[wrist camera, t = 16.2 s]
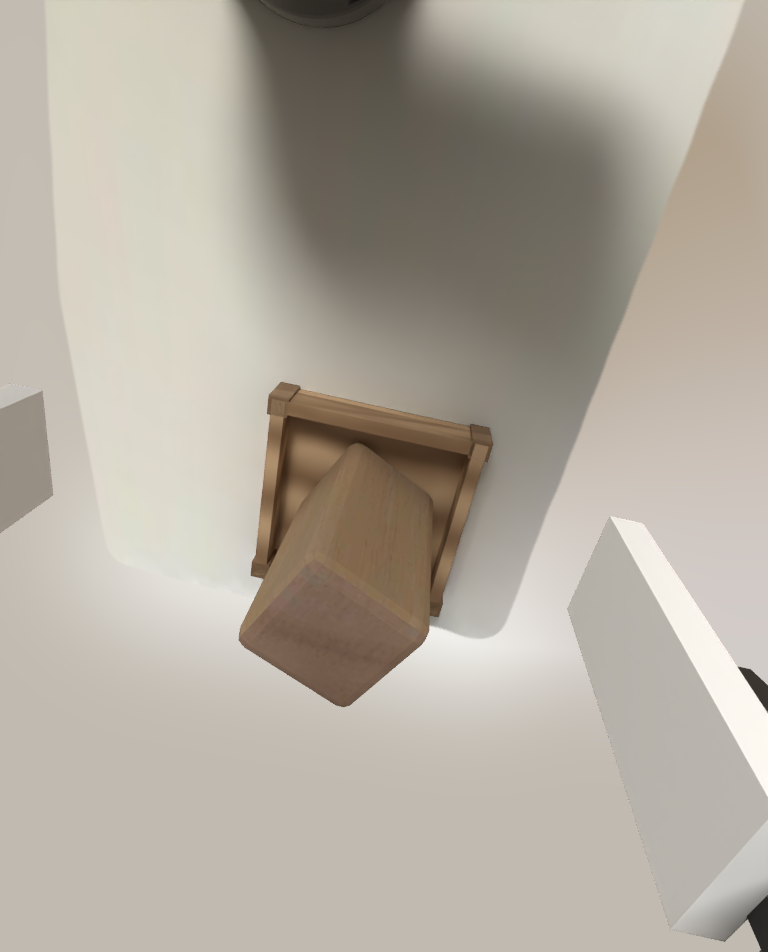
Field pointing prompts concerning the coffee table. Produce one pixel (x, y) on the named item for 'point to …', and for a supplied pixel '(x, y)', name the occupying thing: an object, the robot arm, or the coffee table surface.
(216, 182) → the coffee table surface
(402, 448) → the crate
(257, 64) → the coffee table surface
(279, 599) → the wooden block
